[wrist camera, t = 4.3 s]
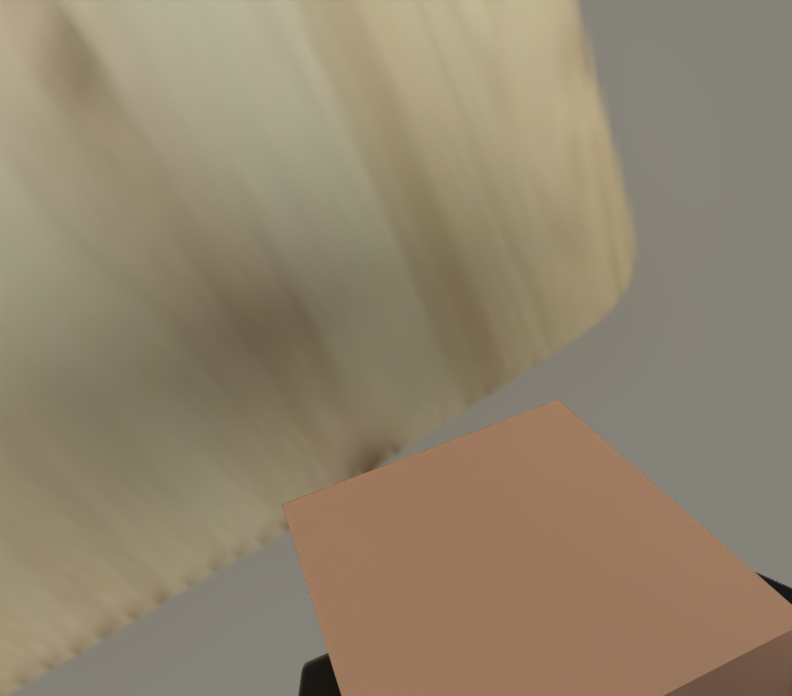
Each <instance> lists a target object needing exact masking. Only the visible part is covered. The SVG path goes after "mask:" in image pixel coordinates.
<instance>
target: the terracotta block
mask: <svg viewBox="0 0 792 696" xmlns="http://www.w3.org/2000/svg"><path fill="white" fill-rule="evenodd" d="M283 509H284V512H285V515H286V518H287V521H288V525H289V528H290V531H291V534H292V538H293V541H294V544H295V547H296V550H297V554H298V556H299V560H300V563H301V567H302V570H303V573H304V576H305V580H306V582H307V586H308V589H309V593H310V595H311V599H312V602H313V605H314V608H315V612H316V615H317V618H318V621H319V625H320V628H321V631H322V634H323V638H324V641H325V644H326V647H327V651H328V654H329V657H330V660H331V664H332V667H333V670H334V673H335V676H336V680H337V683H338V686H339V689H340V693H341V696H792V604H790V603H789V602H788V601H787V600H786V599H785V598H784V597H782V596H781V595H780V594H779V593H778V592H777V591H776V590H774V589H773V588H772V587H771V586H770V585H769V584H768V583H766V582H765V581H764V580H763V579H762V578H761V577H760V576H759V575H757V574H756V573H755V572H754V571H753V570H752V569H751V568H749V567H748V566H747V565H746V564H745V563H744V562H743V561H741V560H740V559H739V558H738V557H737V556H736V555H734V553H732V552H731V551H730V550H729V549H728V548H727V547H726V546H724V545H723V544H722V543H721V542H720V541H719V540H718V539H716V538H715V537H714V536H713V535H712V534H711V533H709V532H708V531H707V530H706V529H705V528H704V527H703V526H702V525H701V524H699V523H698V522H697V521H696V520H695V519H694V518H692V517H691V516H690V515H689V514H688V513H687V512H686V511H685V510H683V509H682V508H681V507H680V506H679V505H678V504H677V503H676V502H674V501H673V500H672V499H671V498H670V497H669V496H667V495H666V494H665V493H664V492H663V491H662V490H661V489H660V488H658V487H657V486H656V485H655V484H654V483H653V482H652V481H651V480H649V479H648V478H647V477H646V476H645V475H644V474H643V473H641V472H640V471H639V470H638V469H637V468H636V467H635V466H633V465H632V464H631V463H630V462H629V461H628V460H627V459H625V458H624V457H623V456H622V455H621V454H620V453H619V452H618V451H616V450H615V449H614V448H613V447H612V446H611V445H609V444H608V443H607V442H606V441H605V440H604V439H603V438H601V437H600V436H599V435H598V434H597V433H596V432H595V431H594V430H592V429H591V428H590V427H589V426H588V425H586V423H585V422H583V421H582V420H581V419H580V418H579V417H578V416H576V415H575V414H574V413H573V412H572V411H571V410H570V409H569V408H567V407H566V406H565V405H564V404H563V403H562V402H561V401H559V400H556V401H553V402H550V403H548V404H545V405H542V406H540V407H537V408H534V409H532V410H529V411H527V412H524V413H521V414H519V415H516V416H514V417H511V418H508V419H506V420H503V421H501V422H498V423H495V424H492V425H490V426H487V427H485V428H482V429H480V430H477V431H474V432H471V433H469V434H466V435H464V436H461V437H458V438H456V439H453V440H451V441H448V442H445V443H443V444H440V445H438V446H435V447H432V448H430V449H427V450H424V451H422V452H419V453H416V454H414V455H411V456H409V457H406V458H403V459H401V460H398V461H395V462H393V463H390V464H387V465H385V466H382V467H380V468H377V469H374V470H372V471H369V472H366V473H364V474H361V475H359V476H356V477H353V478H351V479H348V480H345V481H343V482H340V483H338V484H335V485H332V486H330V487H327V488H324V489H322V490H319V491H317V492H314V493H311V494H309V495H306V496H304V497H301V498H298V499H296V500H293V501H290V502H288V503H285V504H283Z"/></svg>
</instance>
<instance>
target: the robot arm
mask: <svg viewBox="0 0 792 696" xmlns="http://www.w3.org/2000/svg"><path fill="white" fill-rule="evenodd" d="M755 573H756V574H757V575H759V576H760V577H761V578H762V579H763V580H764V581H765V582H766V583H768V584H769V585H770V586H771V587H772V588H773V589H774V590H776V591H777V592H778V593H779V594H780V595H781V596H782V597H784V598H785V599H786V600H787V601H788V602H789V603H790V604H792V588H791V587H789V586H786V585H784V584H782V583H779V582H777V581H775V580H773V579H770V578H768V577H766V576H763V575H761V574H759V573H757V572H755ZM298 696H341V693H340V689H339V686H338V683H337V680H336V676H335V673H334V670H333V667H332V664H331V660H330V657H329V654H328V653H326V654H324V655H322V656H320V657H317V658H315V659H313V660H311V661H308V662H307V663H305V665H304V666H303V669H302V673H301V680H300V687H299V695H298Z"/></svg>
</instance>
